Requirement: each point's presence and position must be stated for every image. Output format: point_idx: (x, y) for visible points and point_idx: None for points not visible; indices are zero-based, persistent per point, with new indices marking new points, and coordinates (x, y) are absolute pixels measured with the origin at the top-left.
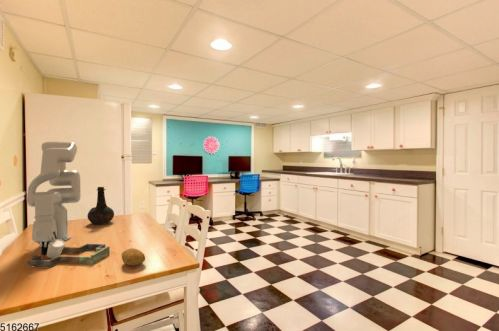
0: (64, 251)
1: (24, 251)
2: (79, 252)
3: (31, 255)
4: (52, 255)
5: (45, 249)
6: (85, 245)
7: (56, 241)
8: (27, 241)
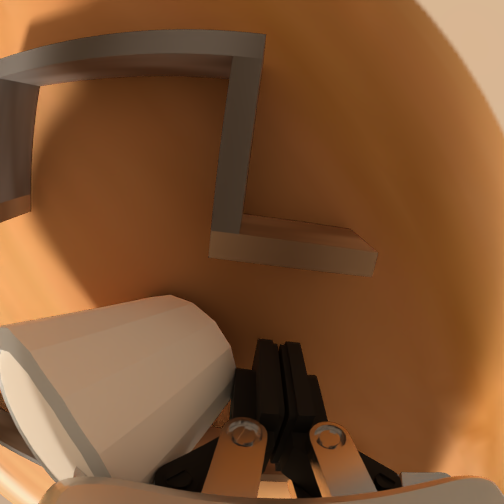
0: None
1: (486, 413)
2: None
3: (372, 252)
4: (124, 303)
5: (255, 398)
6: None
7: None
8: None
